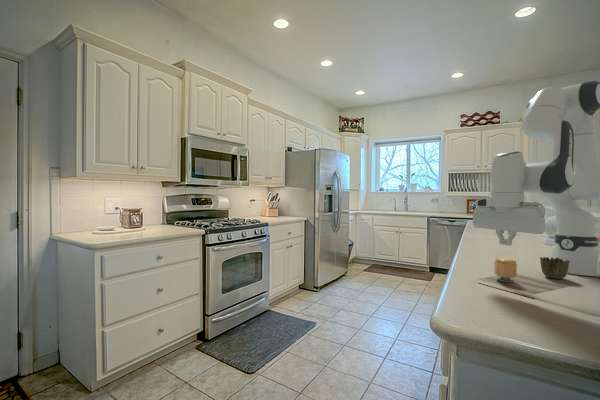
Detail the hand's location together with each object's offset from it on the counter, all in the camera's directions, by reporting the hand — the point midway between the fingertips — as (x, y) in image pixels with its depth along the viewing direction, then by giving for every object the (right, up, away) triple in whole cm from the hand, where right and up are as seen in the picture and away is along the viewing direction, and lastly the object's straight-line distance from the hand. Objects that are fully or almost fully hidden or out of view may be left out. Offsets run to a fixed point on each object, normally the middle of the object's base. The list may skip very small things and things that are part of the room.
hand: (505, 244), depth 92 cm
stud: (0, -12, 0) cm, 12 cm away
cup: (+20, -14, +5) cm, 25 cm away
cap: (0, -10, 0) cm, 10 cm away
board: (+5, -13, -1) cm, 14 cm away
